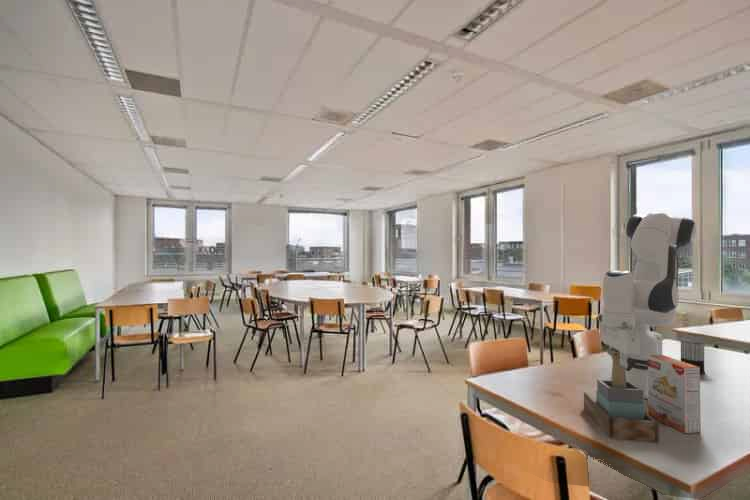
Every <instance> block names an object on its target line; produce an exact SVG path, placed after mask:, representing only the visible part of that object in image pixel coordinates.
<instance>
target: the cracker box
mask: <svg viewBox="0 0 750 500" xmlns="http://www.w3.org/2000/svg"><path fill="white" fill-rule="evenodd" d="M647 411H648V412H647V414H648V415H650V416H651V417H652V418H653V419H654V418H655V420H659V421H660V422H662V423H664V424H666V425H668V426H670V427H671V428H672V429H675V430H677V431H678V432H681V433H682V434H684V435H686V434H700V433H701V430H702V429H701V428H702V427H701V423H702V422H701V374H700V367H698V366H694V365H691V364H688V363H685V362H682V361H681V360H679V359H676V358H672V357H669V356H667V355H663V354H662V355H649V356H648V399H647Z"/></svg>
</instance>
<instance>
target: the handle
mask: <svg viewBox="0 0 750 500" xmlns="http://www.w3.org/2000/svg"><path fill="white" fill-rule="evenodd" d="M606 354H608V355H609V356H611V360H612V359H613V360H612V365H611V366H612V367H611V380H612V387H613V388H626V371H625V366H621V365H620V364H619V359H620V352H619V351H618V350H616V349H614V348H610V347H608V348H607V349H606ZM629 357H630V356H629Z"/></svg>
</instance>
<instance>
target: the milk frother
mask: <svg viewBox="0 0 750 500" xmlns="http://www.w3.org/2000/svg"><path fill="white" fill-rule="evenodd" d="M679 340H680V361H682V362H685V363H688V364H691V365H694V366H698V367H700V375H704V374H706V371H705V344H706V341H704V340H700V339H697V338H687V337H685V338H679Z"/></svg>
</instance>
